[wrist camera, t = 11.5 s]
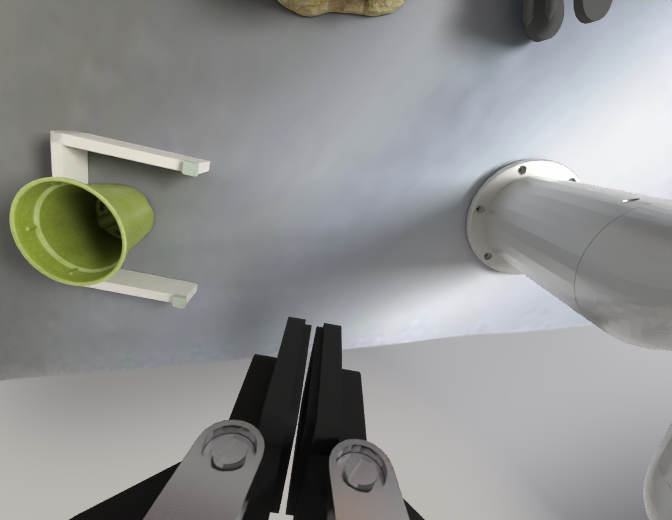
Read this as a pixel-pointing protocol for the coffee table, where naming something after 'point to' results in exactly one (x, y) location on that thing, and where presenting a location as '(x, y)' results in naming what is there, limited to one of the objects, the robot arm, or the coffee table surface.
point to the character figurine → (558, 15)
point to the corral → (73, 164)
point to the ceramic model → (342, 6)
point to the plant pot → (78, 227)
